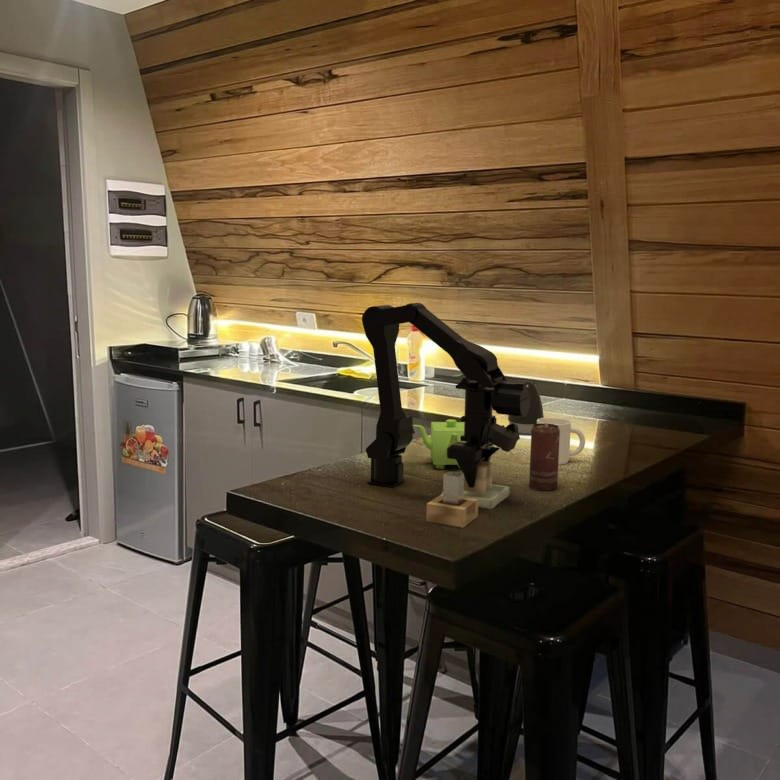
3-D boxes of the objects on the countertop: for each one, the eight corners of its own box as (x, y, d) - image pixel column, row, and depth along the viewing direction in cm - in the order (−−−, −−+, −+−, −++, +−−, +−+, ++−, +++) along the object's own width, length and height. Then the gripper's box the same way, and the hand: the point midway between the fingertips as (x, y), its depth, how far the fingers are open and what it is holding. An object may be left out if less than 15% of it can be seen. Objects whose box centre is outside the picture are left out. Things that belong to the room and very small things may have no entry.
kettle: (454, 476, 185) (455, 429, 183) (408, 465, 194) (408, 420, 192) (491, 464, 196) (492, 419, 194) (446, 454, 205) (447, 411, 203)
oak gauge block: (426, 521, 153) (426, 503, 152) (442, 510, 160) (442, 493, 159) (463, 527, 150) (463, 509, 149) (477, 516, 156) (478, 499, 156)
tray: (441, 500, 166) (441, 492, 166) (461, 487, 176) (462, 479, 175) (491, 509, 161) (491, 500, 161) (509, 495, 171) (509, 486, 170)
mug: (582, 458, 202) (584, 418, 201) (585, 467, 194) (587, 425, 193) (534, 456, 204) (536, 417, 202) (535, 464, 196) (537, 423, 194)
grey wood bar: (442, 519, 154) (443, 474, 153) (448, 515, 157) (449, 471, 155) (456, 522, 153) (457, 476, 151) (462, 517, 155) (464, 473, 154)
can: (553, 483, 180) (556, 422, 178) (560, 491, 174) (563, 428, 171) (526, 482, 180) (528, 422, 178) (532, 491, 174) (535, 428, 171)
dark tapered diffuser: (548, 431, 233) (551, 380, 231) (534, 438, 225) (536, 384, 222) (516, 427, 239) (518, 377, 236) (501, 433, 230) (503, 381, 228)
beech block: (460, 490, 167) (461, 464, 166) (469, 484, 171) (470, 459, 170) (483, 493, 165) (484, 467, 164) (491, 487, 169) (492, 462, 168)
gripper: (499, 423, 153) (497, 501, 156) (529, 408, 170) (526, 478, 172) (446, 417, 158) (444, 493, 161) (480, 403, 175) (478, 472, 177)
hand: (476, 484), depth 168 cm, fingers closed on beech block, 5 cm apart
